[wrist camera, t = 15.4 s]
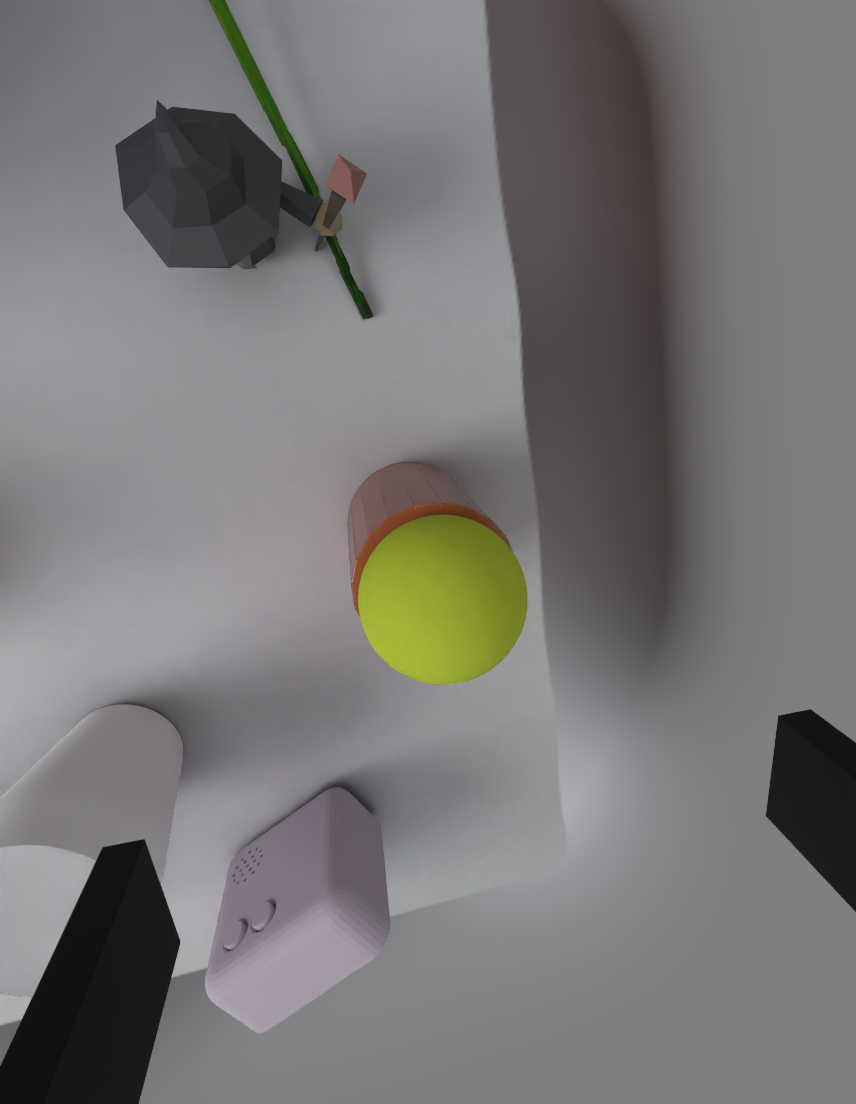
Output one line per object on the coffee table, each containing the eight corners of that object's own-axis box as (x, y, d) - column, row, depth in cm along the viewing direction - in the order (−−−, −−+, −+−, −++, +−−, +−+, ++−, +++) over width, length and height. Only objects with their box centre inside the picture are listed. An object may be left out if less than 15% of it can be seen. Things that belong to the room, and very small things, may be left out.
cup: (197, 682, 36) (132, 832, 24) (208, 802, 38) (155, 986, 27) (37, 688, 34) (-111, 851, 23) (61, 812, 37) (-60, 1010, 26)
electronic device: (338, 769, 39) (338, 899, 30) (379, 810, 41) (392, 946, 31) (222, 851, 40) (187, 1003, 30) (267, 888, 41) (247, 1044, 32)
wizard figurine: (207, 311, 29) (126, 280, 18) (157, 188, 27) (31, 68, 16) (363, 260, 30) (379, 200, 18) (324, 136, 28) (315, -17, 16)
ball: (344, 513, 25) (350, 547, 19) (494, 494, 26) (548, 520, 20) (364, 655, 27) (376, 732, 21) (504, 632, 28) (557, 698, 21)
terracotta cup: (339, 469, 33) (340, 514, 23) (463, 454, 34) (513, 492, 24) (356, 586, 35) (363, 669, 26) (472, 570, 36) (520, 645, 26)
